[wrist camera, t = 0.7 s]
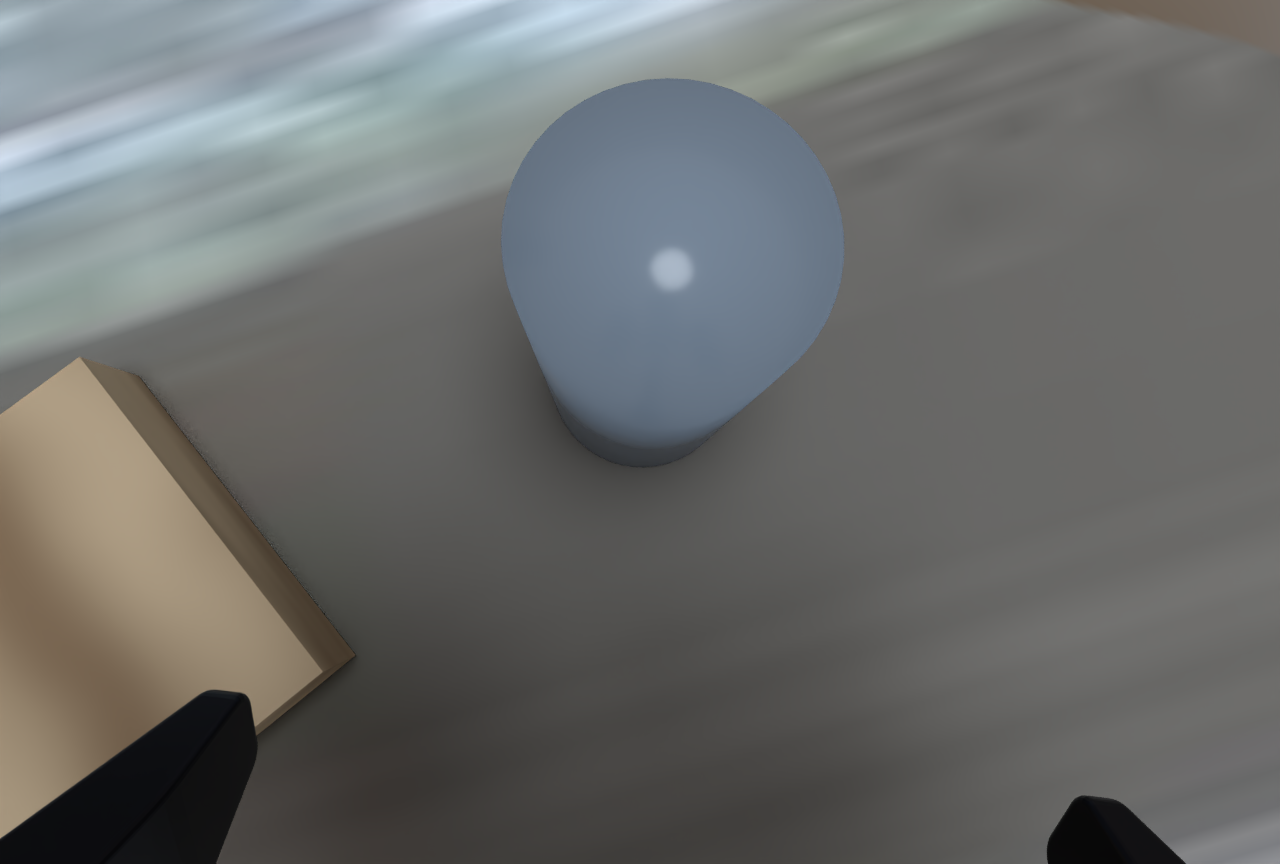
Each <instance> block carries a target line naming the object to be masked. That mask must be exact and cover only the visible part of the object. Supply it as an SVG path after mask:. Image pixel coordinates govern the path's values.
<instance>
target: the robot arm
mask: <svg viewBox="0 0 1280 864" xmlns="http://www.w3.org/2000/svg"><path fill="white" fill-rule="evenodd" d="M257 746H258V745H257V737H256V731H255V725H254V719H253V713H252V708H251V703H250V699H249V698H248V696H247V695H246V694H244V693H241V692H233V691H225V690H216V689H214V690H207V691H205V692H202V693H201V694H199V695H197V696H196V697H195V698H193V699H192V700H190V701H189V702H188V703H186V704H185V705H184V706H182V707H181V708H179V709H178V710H177V711H175V712H174V713H173V714H171V715H170V716H168V717H167V718H166V719H164V720H163V721H162V722H160V723H159V724H157V725H156V726H155V727H153V728H152V729H150V730H149V731H148V732H146V733H145V734H144V735H142V736H141V737H139V738H138V739H137V740H135V741H134V742H133V743H131V744H130V745H128V746H127V747H126V748H124V749H123V750H121V751H120V752H119V753H117V754H116V755H115V756H113V757H112V758H110V759H109V760H108V761H106V762H105V763H104V764H102V765H101V766H99V767H98V768H97V769H95V770H94V771H93V772H91V773H90V774H88V775H87V776H86V777H84V778H83V779H81V780H80V781H79V782H77V783H76V784H75V785H73V786H72V787H70V788H69V789H68V790H66V791H65V792H64V793H62V794H61V795H59V796H58V797H57V798H55V799H54V800H53V801H51V802H50V803H48V804H47V805H46V806H44V807H43V808H41V809H40V810H39V811H37V812H36V813H35V814H33V815H32V816H30V817H29V818H28V819H26V820H25V821H24V822H22V823H21V824H19V825H18V826H17V827H15V828H14V829H13V830H11V831H10V832H8V833H7V834H6V835H4V836H3V837H1V838H0V864H216V862H217V859H218V857H219V854H220V852H221V849H222V846H223V844H224V841H225V839H226V836H227V834H228V831H229V828H230V826H231V823H232V821H233V818H234V816H235V813H236V810H237V808H238V805H239V803H240V800H241V798H242V795H243V792H244V790H245V787H246V785H247V782H248V780H249V777H250V774H251V772H252V769H253V766H254V764H255V760H256V755H257ZM1047 860H1048V864H1186V863H1185V862H1184V861H1183V860H1182V859H1181V858H1180V857H1179V856H1177V855H1176V854H1175V853H1174V852H1173V851H1172V850H1171V849H1170V848H1169V847H1168V846H1167V845H1166V844H1165V843H1164V842H1163V841H1162V840H1161V839H1160V838H1159V837H1158V836H1157V835H1156V834H1155V833H1153V832H1152V831H1151V830H1150V829H1149V828H1148V827H1147V826H1146V825H1145V824H1144V823H1143V822H1142V821H1141V820H1140V819H1139V818H1138V817H1137V816H1136V815H1135V814H1134V813H1133V812H1132V811H1130V810H1129V809H1128V808H1127V807H1126V806H1125V805H1123V804H1122V803H1120V802H1119V801H1117V800H1114V799H1110V798H1102V797H1094V796H1079V797H1077V798H1075V799H1074V800H1073V802H1072V803H1071V804H1070V806H1069V808H1068V809H1067V811H1066V812H1065V814H1064V815H1063V817H1062V818H1061V820H1060V822H1059V823H1058V825H1057V826H1056V828H1055V829H1054V831H1053V832H1052V834H1051V836H1050V838H1049V841H1048V845H1047Z"/></svg>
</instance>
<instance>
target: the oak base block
mask: <svg viewBox="0 0 1280 864" xmlns="http://www.w3.org/2000/svg"><path fill="white" fill-rule="evenodd" d="M354 656H355V654H354V652H353V651H352V650H351V649H350V647H349V646H348V645H347V643H346V642H345V641H344V640H343V638H342V637H341V636H340V634H339V633H338V632H337V631H336V629H335V628H334V627H333V625H332V624H331V623H330V622H329V620H328V619H327V618H326V616H325V615H324V614H323V613H322V611H321V610H320V609H319V607H318V606H317V605H316V604H315V602H314V601H313V600H312V598H311V597H310V596H309V595H308V593H307V592H306V591H305V589H304V588H303V587H302V586H301V584H300V583H299V582H298V580H297V579H296V578H295V577H294V575H293V574H292V573H291V571H290V570H289V569H288V568H287V566H286V565H285V564H284V562H283V561H282V560H281V559H280V557H279V556H278V555H277V553H276V552H275V551H274V550H273V548H272V547H271V546H270V544H269V543H268V542H267V541H266V539H265V538H264V537H263V535H262V534H261V533H260V532H259V530H258V529H257V528H256V526H255V525H254V524H253V523H252V521H251V520H250V519H249V517H248V516H247V515H246V514H245V512H244V511H243V510H242V508H241V507H240V506H239V505H238V503H237V502H236V501H235V499H234V498H233V497H232V496H231V494H230V493H229V492H228V490H227V489H226V488H225V487H224V485H223V484H222V483H221V481H220V480H219V479H218V478H217V476H216V475H215V474H214V472H213V471H212V470H211V469H210V467H209V466H208V465H207V463H206V462H205V461H204V460H203V458H202V457H201V456H200V454H199V453H198V452H197V451H196V449H195V448H194V447H193V445H192V444H191V443H190V442H189V440H188V439H187V438H186V436H185V435H184V434H183V433H182V431H181V430H180V429H179V427H178V426H177V425H176V424H175V422H174V421H173V420H172V418H171V417H170V416H169V415H168V413H167V412H166V411H165V409H164V408H163V407H162V406H161V404H160V403H159V402H158V400H157V399H156V398H155V397H154V395H153V394H152V393H151V391H150V390H149V389H148V388H147V386H146V385H145V384H144V382H143V381H142V380H141V379H140V377H139V376H137V375H134V374H131V373H128V372H124V371H121V370H118V369H115V368H112V367H109V366H106V365H103V364H100V363H97V362H94V361H91V360H88V359H84V358H81V357H79V358H77V359H76V360H75V361H73V362H72V363H70V364H69V365H68V366H66V367H65V368H64V369H62V370H61V371H59V372H58V373H57V374H55V375H54V376H53V377H51V378H50V379H49V380H47V381H46V382H44V383H43V384H42V385H40V386H39V387H38V388H36V389H35V390H33V391H32V392H31V393H29V394H28V395H27V396H25V397H24V398H22V399H21V400H20V401H18V402H17V403H16V404H14V405H13V406H11V407H10V408H9V409H7V410H6V411H5V412H3V413H2V414H0V838H1V837H3V836H4V835H6V834H7V833H8V832H10V831H11V830H13V829H14V828H15V827H17V826H18V825H19V824H21V823H22V822H24V821H25V820H26V819H28V818H29V817H30V816H32V815H33V814H35V813H36V812H37V811H39V810H40V809H41V808H43V807H44V806H46V805H47V804H48V803H50V802H51V801H53V800H54V799H55V798H57V797H58V796H59V795H61V794H62V793H64V792H65V791H66V790H68V789H69V788H70V787H72V786H73V785H75V784H76V783H77V782H79V781H80V780H81V779H83V778H84V777H86V776H87V775H88V774H90V773H91V772H93V771H94V770H95V769H97V768H98V767H99V766H101V765H102V764H104V763H105V762H106V761H108V760H109V759H110V758H112V757H113V756H115V755H116V754H117V753H119V752H120V751H121V750H123V749H124V748H126V747H127V746H128V745H130V744H131V743H133V742H134V741H135V740H137V739H138V738H139V737H141V736H142V735H144V734H145V733H146V732H148V731H149V730H150V729H152V728H153V727H155V726H156V725H157V724H159V723H160V722H162V721H163V720H164V719H166V718H167V717H168V716H170V715H171V714H173V713H174V712H175V711H177V710H178V709H179V708H181V707H182V706H184V705H185V704H186V703H188V702H189V701H190V700H192V699H193V698H195V697H196V696H197V695H199V694H201V693H202V692H205V691H207V690H214V689H216V690H225V691H233V692H241V693H244V694H246V695H247V696H248V698H249V699H250V703H251V708H252V713H253V719H254V725H255V731H256V736H257V735H258V734H259V733H261V732H262V731H263V730H264V729H266V728H267V727H268V726H269V725H271V724H272V723H273V722H274V721H275V720H277V719H278V718H279V717H280V716H282V715H283V714H284V713H285V712H286V711H288V710H289V709H290V708H291V707H293V706H294V705H295V704H296V703H298V702H299V701H300V700H301V699H302V698H304V697H305V696H306V695H307V694H309V693H310V692H311V691H312V690H313V689H315V688H316V687H317V686H318V685H320V684H321V683H322V682H323V681H325V680H326V679H327V678H328V677H329V676H331V675H332V674H333V673H334V672H336V671H337V670H338V669H339V668H340V667H342V666H343V665H344V664H345V663H347V662H348V661H349V660H350V659H352V658H353V657H354Z"/></svg>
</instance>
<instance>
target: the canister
mask: <svg viewBox="0 0 1280 864" xmlns="http://www.w3.org/2000/svg"><path fill="white" fill-rule="evenodd" d="M501 247H502V259H503V267H504V272H505V276H506V281H507V285H508V288H509V291H510V294H511V296H512V299H513V302H514V305H515V307H516V310H517V312H518V315H519V317H520V319H521V322H522V324H523V327H524V329H525V332H526V334H527V336H528V339H529V341H530V344H531V346H532V348H533V351H534V353H535V356H536V358H537V361H538V363H539V365H540V368H541V370H542V373H543V375H544V378H545V380H546V382H547V385H548V387H549V390H550V392H551V395H552V397H553V399H554V402H555V404H556V407H557V409H558V412H559V414H560V416H561V418H562V420H563V422H564V423H565V425H566V427H567V428H568V429H569V431H570V432H571V434H572V435H573V436H574V437H575V438H576V439H577V440H578V441H579V442H580V443H581V444H582V445H583V446H585V447H586V448H587V449H588V450H590V451H591V452H593V453H594V454H596V455H598V456H599V457H601V458H604V459H606V460H608V461H610V462H614V463H617V464H620V465H625V466H631V467H652V466H659V465H664V464H668V463H671V462H673V461H676V460H679V459H681V458H683V457H685V456H686V455H688V454H690V453H691V452H693V451H694V450H696V449H697V448H698V447H700V446H701V445H702V444H703V443H704V442H705V441H707V440H708V439H709V438H710V437H711V436H712V435H713V434H715V433H716V432H717V431H718V430H719V429H720V428H721V427H723V426H724V425H725V424H726V423H727V422H728V421H729V420H731V419H732V418H733V417H734V416H735V415H736V414H737V413H739V412H740V411H741V410H742V409H743V408H744V407H745V406H747V405H748V404H749V403H750V402H751V401H752V400H753V399H755V398H756V397H757V396H758V395H759V394H760V393H761V392H763V391H764V390H765V389H766V388H767V387H768V386H769V385H771V384H772V383H773V382H774V381H775V380H776V379H778V378H779V377H780V376H781V375H782V374H783V373H784V372H786V371H787V370H788V369H789V368H790V367H791V366H792V365H793V364H794V363H795V362H796V361H797V360H798V359H799V358H800V357H801V356H802V355H803V354H804V353H805V352H806V350H807V349H808V348H809V347H810V345H811V344H812V343H813V342H814V340H815V339H816V338H817V336H818V334H819V333H820V331H821V329H822V328H823V326H824V324H825V323H826V321H827V319H828V317H829V314H830V312H831V310H832V307H833V305H834V303H835V300H836V297H837V293H838V289H839V286H840V282H841V277H842V270H843V262H844V233H843V225H842V218H841V213H840V209H839V206H838V202H837V199H836V195H835V192H834V190H833V188H832V185H831V183H830V181H829V178H828V176H827V174H826V172H825V170H824V169H823V167H822V165H821V163H820V162H819V160H818V158H817V157H816V155H815V154H814V153H813V151H812V150H811V149H810V147H809V146H808V145H807V143H806V142H805V141H804V140H803V138H802V137H801V136H800V135H799V134H798V133H797V132H796V131H795V130H794V129H793V128H792V127H791V126H790V125H789V124H788V123H787V122H785V121H784V120H783V119H781V118H780V117H779V116H778V115H776V114H775V113H774V112H772V111H771V110H770V109H768V108H766V107H765V106H763V105H761V104H760V103H758V102H756V101H755V100H753V99H751V98H749V97H747V96H745V95H742V94H740V93H738V92H736V91H733V90H731V89H728V88H724V87H721V86H718V85H715V84H711V83H706V82H700V81H695V80H688V79H668V78H667V79H653V80H643V81H638V82H633V83H628V84H624V85H621V86H618V87H614V88H611V89H608V90H605V91H603V92H601V93H599V94H597V95H595V96H592V97H590V98H588V99H586V100H584V101H583V102H581V103H580V104H578V105H576V106H575V107H573V108H572V109H570V110H569V111H567V112H566V113H565V114H563V115H562V116H561V117H560V118H559V119H558V120H556V121H555V122H554V123H553V124H552V125H551V126H549V128H548V129H547V130H546V131H545V132H544V133H543V134H542V135H541V136H540V138H539V139H538V140H537V141H536V142H535V143H534V145H533V146H532V148H531V149H530V151H529V152H528V154H527V155H526V157H525V158H524V160H523V161H522V163H521V165H520V167H519V169H518V171H517V173H516V175H515V177H514V179H513V182H512V185H511V188H510V191H509V194H508V197H507V200H506V205H505V210H504V215H503V221H502V238H501Z"/></svg>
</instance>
